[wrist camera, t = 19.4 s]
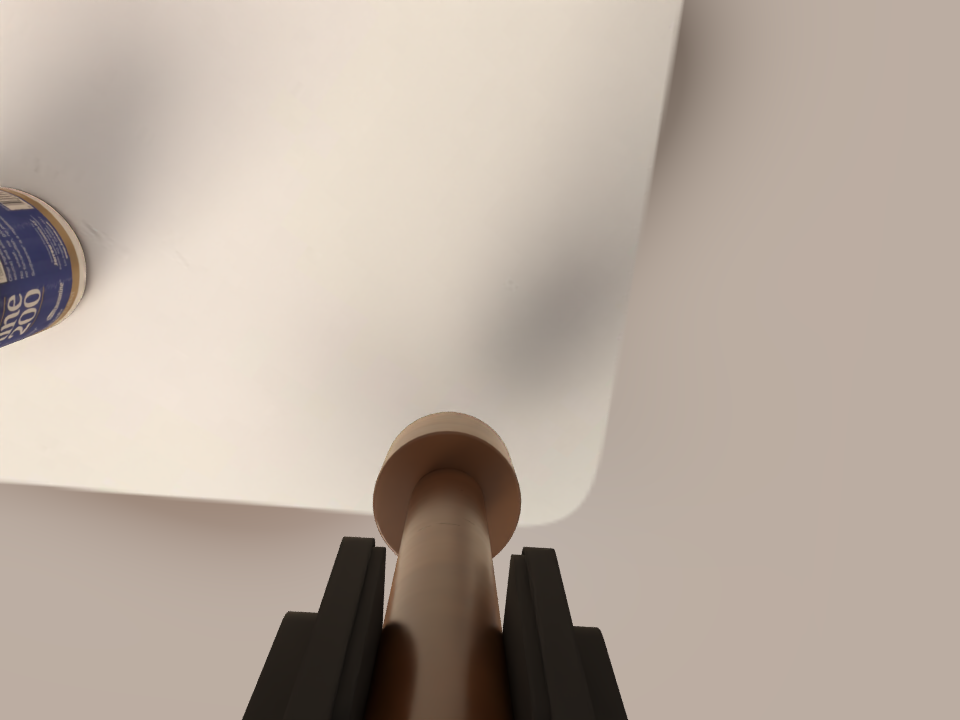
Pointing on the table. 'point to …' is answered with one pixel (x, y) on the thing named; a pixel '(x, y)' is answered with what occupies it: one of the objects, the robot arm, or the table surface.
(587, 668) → the robot arm
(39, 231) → the pill bottle
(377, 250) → the table surface
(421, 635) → the wooden pestle
